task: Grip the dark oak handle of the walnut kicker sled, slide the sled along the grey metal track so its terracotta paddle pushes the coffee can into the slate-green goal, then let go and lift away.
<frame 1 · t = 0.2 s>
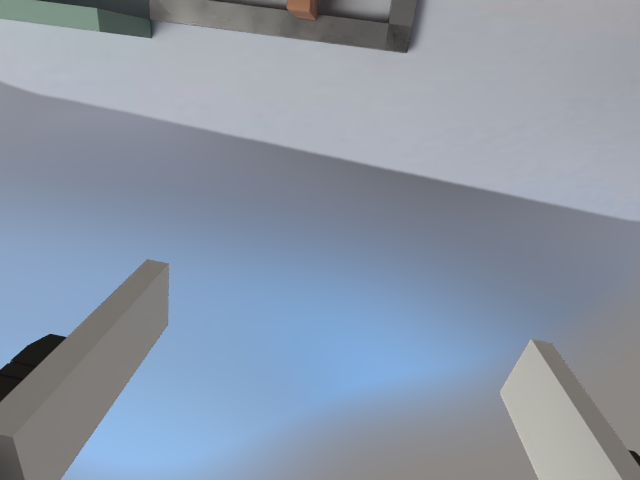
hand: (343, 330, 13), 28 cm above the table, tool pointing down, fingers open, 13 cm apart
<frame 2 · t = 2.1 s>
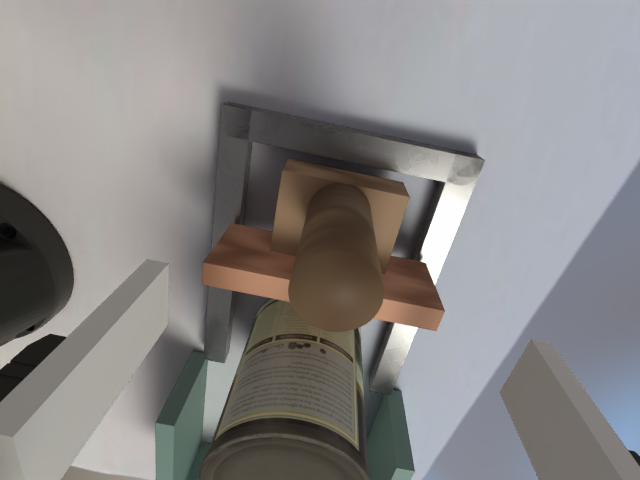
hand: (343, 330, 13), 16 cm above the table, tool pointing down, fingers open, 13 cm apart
kicker sled: (332, 258, 21), point 8 cm above the table, slide at 0.0 cm
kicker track: (322, 266, 31), on the table
coffee can: (306, 332, 35), on the table
goal: (286, 419, 40), on the table
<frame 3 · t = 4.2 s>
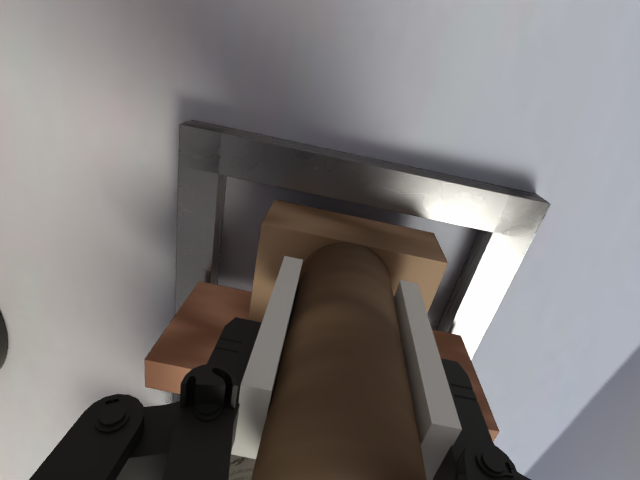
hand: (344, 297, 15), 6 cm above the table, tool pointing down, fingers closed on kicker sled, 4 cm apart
kicker sled: (333, 359, 14), point 8 cm above the table, slide at 0.0 cm, touching gripper
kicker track: (321, 330, 24), on the table
coffee can: (302, 405, 27), on the table
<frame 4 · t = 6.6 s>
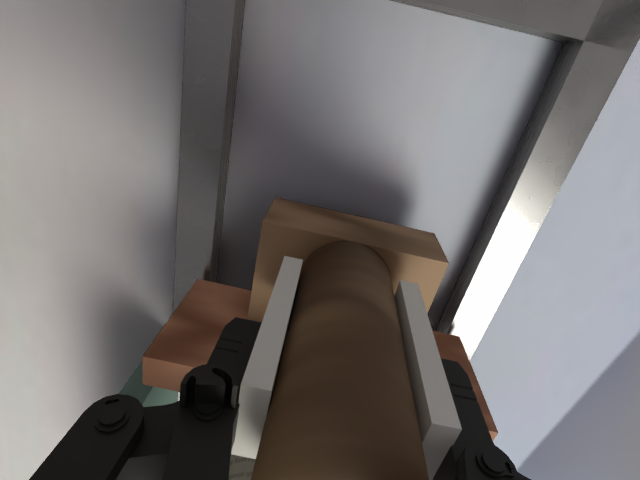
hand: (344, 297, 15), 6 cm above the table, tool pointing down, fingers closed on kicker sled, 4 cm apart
kicker sled: (333, 358, 14), point 8 cm above the table, slide at 8.7 cm, touching coffee can, gripper
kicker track: (353, 206, 20), on the table
coffee can: (310, 364, 25), on the table, touching kicker sled
goal: (291, 437, 28), on the table
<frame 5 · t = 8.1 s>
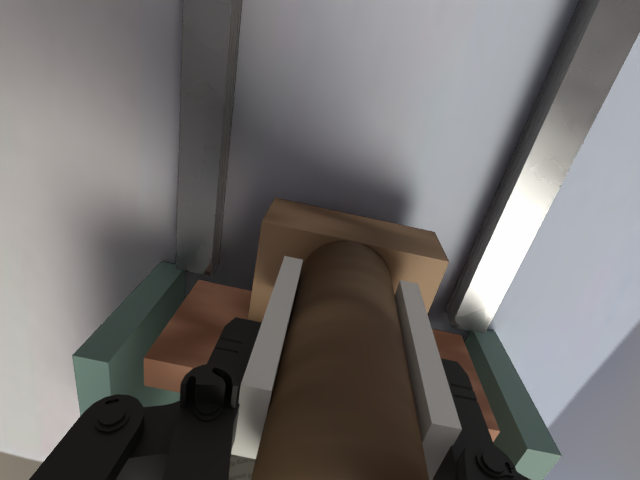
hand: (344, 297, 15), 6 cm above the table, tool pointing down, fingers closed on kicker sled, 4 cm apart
kicker sled: (334, 358, 14), point 8 cm above the table, slide at 14.9 cm, touching coffee can, gripper
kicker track: (384, 85, 17), on the table
coffee can: (313, 364, 25), on the table, touching kicker sled
goal: (308, 380, 26), on the table
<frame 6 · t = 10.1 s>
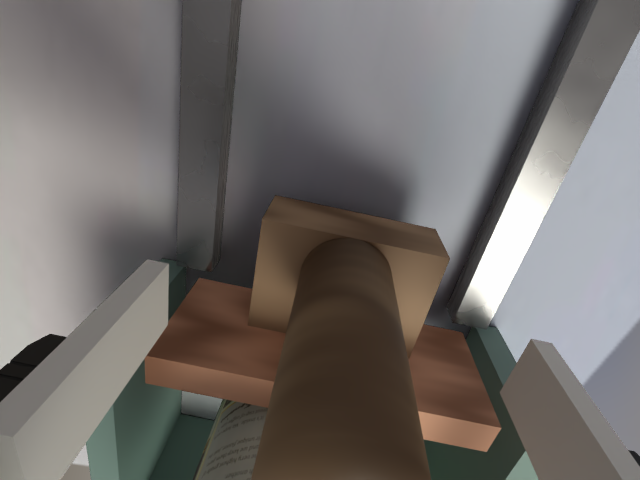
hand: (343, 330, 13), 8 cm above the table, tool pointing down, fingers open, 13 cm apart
kicker sled: (335, 355, 14), point 8 cm above the table, slide at 15.0 cm
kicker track: (385, 79, 17), on the table
coffee can: (314, 362, 25), on the table
goal: (309, 377, 26), on the table
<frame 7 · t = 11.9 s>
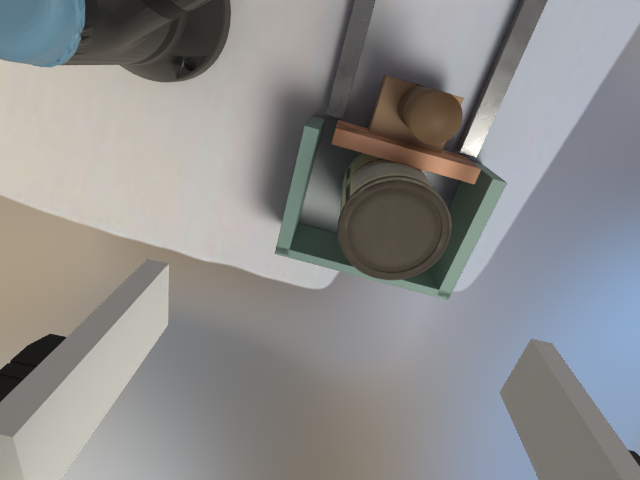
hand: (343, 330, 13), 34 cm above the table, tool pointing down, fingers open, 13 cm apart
kicker sled: (416, 128, 35), point 8 cm above the table, slide at 15.0 cm
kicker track: (438, 24, 38), on the table
coffee can: (382, 186, 46), on the table
goal: (378, 196, 47), on the table
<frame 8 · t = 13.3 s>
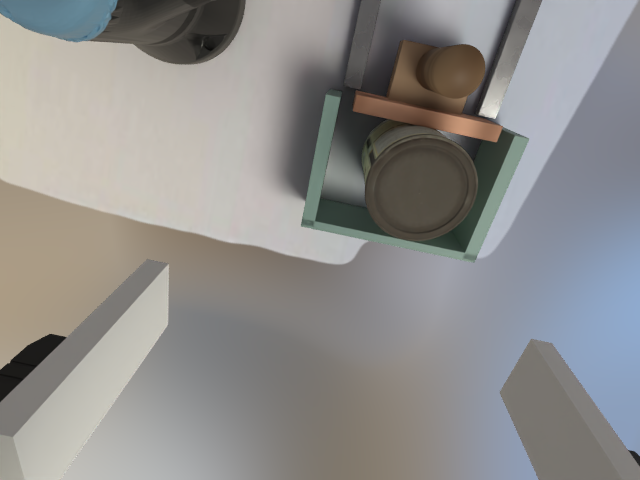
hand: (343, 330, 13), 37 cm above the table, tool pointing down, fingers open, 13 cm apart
kicker sled: (436, 88, 36), point 8 cm above the table, slide at 15.0 cm
coffee can: (401, 156, 47), on the table
goal: (398, 166, 47), on the table
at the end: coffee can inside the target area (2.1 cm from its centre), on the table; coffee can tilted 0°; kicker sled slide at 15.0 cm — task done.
